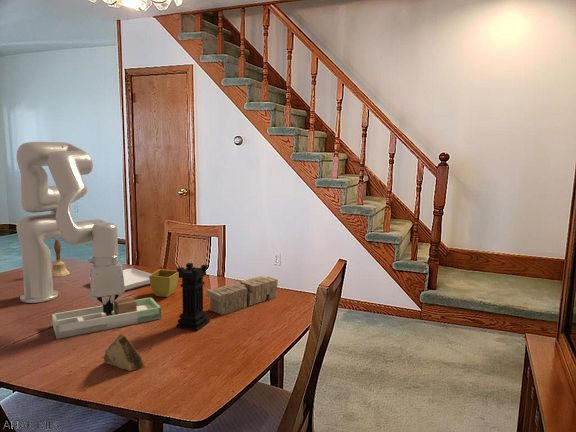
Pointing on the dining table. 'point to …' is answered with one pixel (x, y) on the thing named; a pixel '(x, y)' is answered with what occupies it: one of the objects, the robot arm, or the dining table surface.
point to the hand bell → (59, 263)
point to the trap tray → (102, 318)
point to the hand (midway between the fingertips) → (108, 314)
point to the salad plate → (135, 278)
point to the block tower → (242, 294)
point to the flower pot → (164, 282)
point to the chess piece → (192, 298)
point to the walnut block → (125, 305)
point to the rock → (123, 355)
